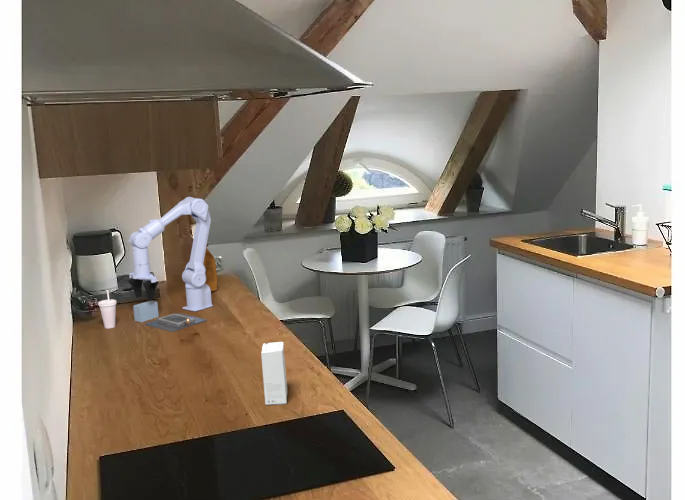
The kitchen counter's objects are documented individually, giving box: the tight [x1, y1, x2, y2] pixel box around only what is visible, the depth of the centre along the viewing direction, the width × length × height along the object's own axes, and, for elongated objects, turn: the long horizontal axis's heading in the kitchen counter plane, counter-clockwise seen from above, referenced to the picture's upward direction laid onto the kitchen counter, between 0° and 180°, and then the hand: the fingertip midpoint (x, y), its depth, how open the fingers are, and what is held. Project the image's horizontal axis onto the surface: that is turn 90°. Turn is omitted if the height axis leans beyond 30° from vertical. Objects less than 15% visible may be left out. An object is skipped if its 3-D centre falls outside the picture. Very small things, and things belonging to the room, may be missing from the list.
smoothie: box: [97, 289, 117, 329], centre depth 255 cm, size 6×6×14 cm
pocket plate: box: [145, 312, 208, 333], centre depth 258 cm, size 16×16×3 cm
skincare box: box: [260, 341, 288, 406], centre depth 185 cm, size 8×6×15 cm
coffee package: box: [203, 243, 218, 292], centre depth 303 cm, size 10×12×22 cm
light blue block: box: [133, 300, 160, 323], centre depth 264 cm, size 8×4×6 cm, turn 141°
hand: (144, 298), depth 263 cm, fingers open, 7 cm apart
